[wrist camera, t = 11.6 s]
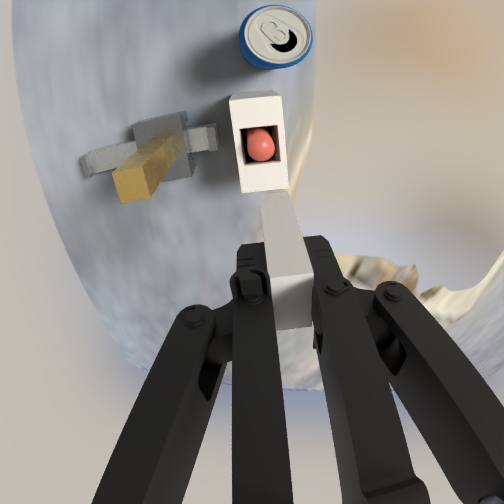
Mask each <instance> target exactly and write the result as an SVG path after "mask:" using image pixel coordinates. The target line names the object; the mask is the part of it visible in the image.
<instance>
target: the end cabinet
mask: <svg viewBox="0 0 504 504" xmlns="http://www.w3.org/2000/svg"><path fill="white" fill-rule="evenodd" d="M229 105H230V113H231V120H232V127H233V134H234V141H235V148H236V155H237V162H238V169H239V176H240V183H241V190H242V193H247V192H255V191H264V190H274V189H284V188H289V187H288V172H287V159H286V146H285V134H284V122H283V111H282V100H281V95H280V94H278V93H276V92H275V91H273V90H266V91H256V92H246V93H238V94H232V96H231V98H230V100H229ZM270 125H271V129H272V139H273V143H274V147H275V150H274V159H268V160H266V161H249V162H246V158H245V151H244V143H243V135H242V128H251V127H260V126H270Z"/></svg>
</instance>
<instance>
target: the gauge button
mask: <svg viewBox="0 0 504 504" xmlns="http://www.w3.org/2000/svg"><path fill="white" fill-rule="evenodd" d="M247 147H248V153H249V155H250V156H251V158H253V159H254V160H257V161H266V160H268V159H269V158H271V157H272V155H273V154H274V150H275V147H274V143H273V141H272V138H271V136H270V133H269V131H268V129H267V127H266V126H260V127H251V128H247Z"/></svg>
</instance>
